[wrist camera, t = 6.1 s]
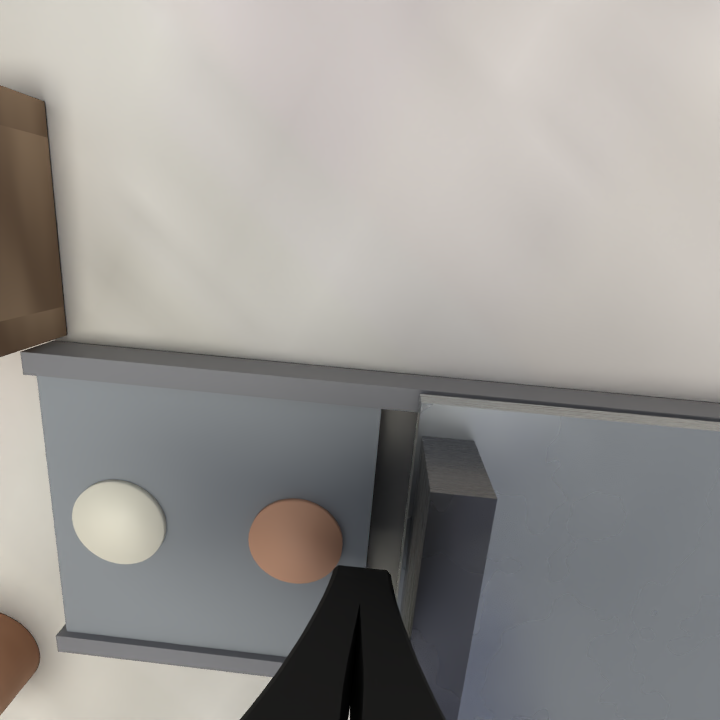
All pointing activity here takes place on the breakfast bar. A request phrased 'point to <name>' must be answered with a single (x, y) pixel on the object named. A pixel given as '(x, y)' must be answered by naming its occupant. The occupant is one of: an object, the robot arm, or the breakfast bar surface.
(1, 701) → the peg
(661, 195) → the breakfast bar surface
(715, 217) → the breakfast bar surface
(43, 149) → the socket board
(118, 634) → the pattern board
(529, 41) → the breakfast bar surface
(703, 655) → the cover
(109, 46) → the breakfast bar surface
